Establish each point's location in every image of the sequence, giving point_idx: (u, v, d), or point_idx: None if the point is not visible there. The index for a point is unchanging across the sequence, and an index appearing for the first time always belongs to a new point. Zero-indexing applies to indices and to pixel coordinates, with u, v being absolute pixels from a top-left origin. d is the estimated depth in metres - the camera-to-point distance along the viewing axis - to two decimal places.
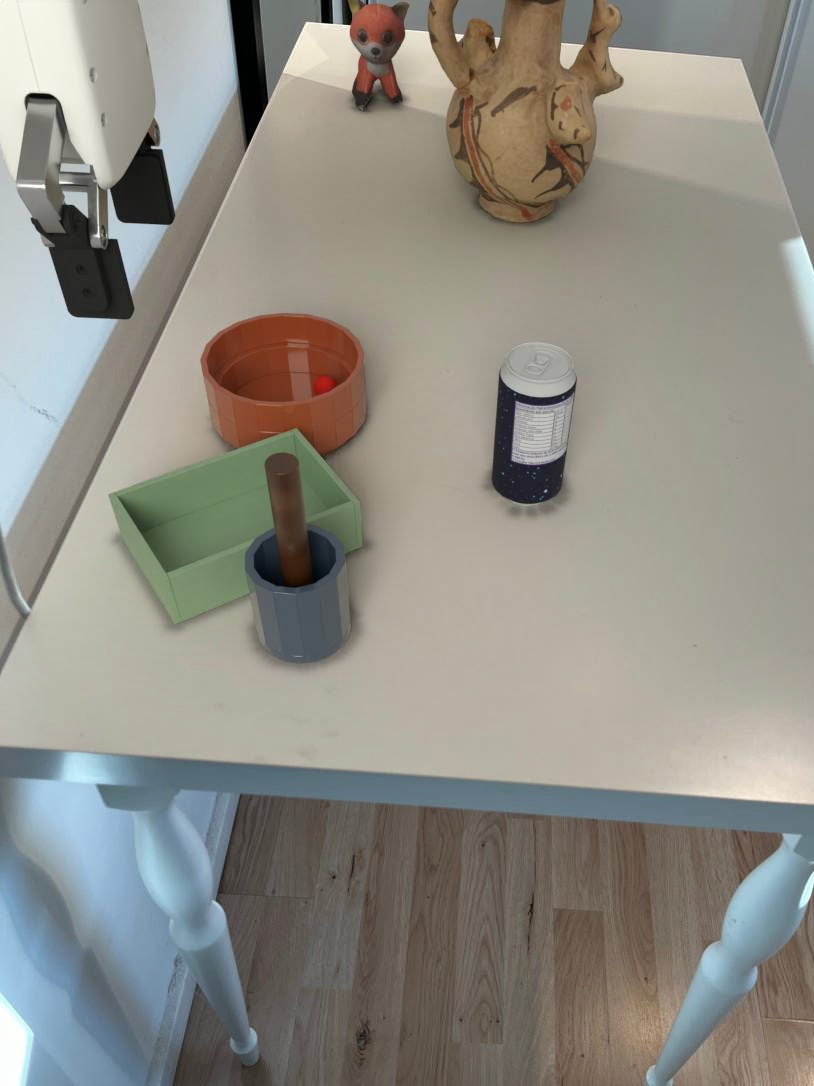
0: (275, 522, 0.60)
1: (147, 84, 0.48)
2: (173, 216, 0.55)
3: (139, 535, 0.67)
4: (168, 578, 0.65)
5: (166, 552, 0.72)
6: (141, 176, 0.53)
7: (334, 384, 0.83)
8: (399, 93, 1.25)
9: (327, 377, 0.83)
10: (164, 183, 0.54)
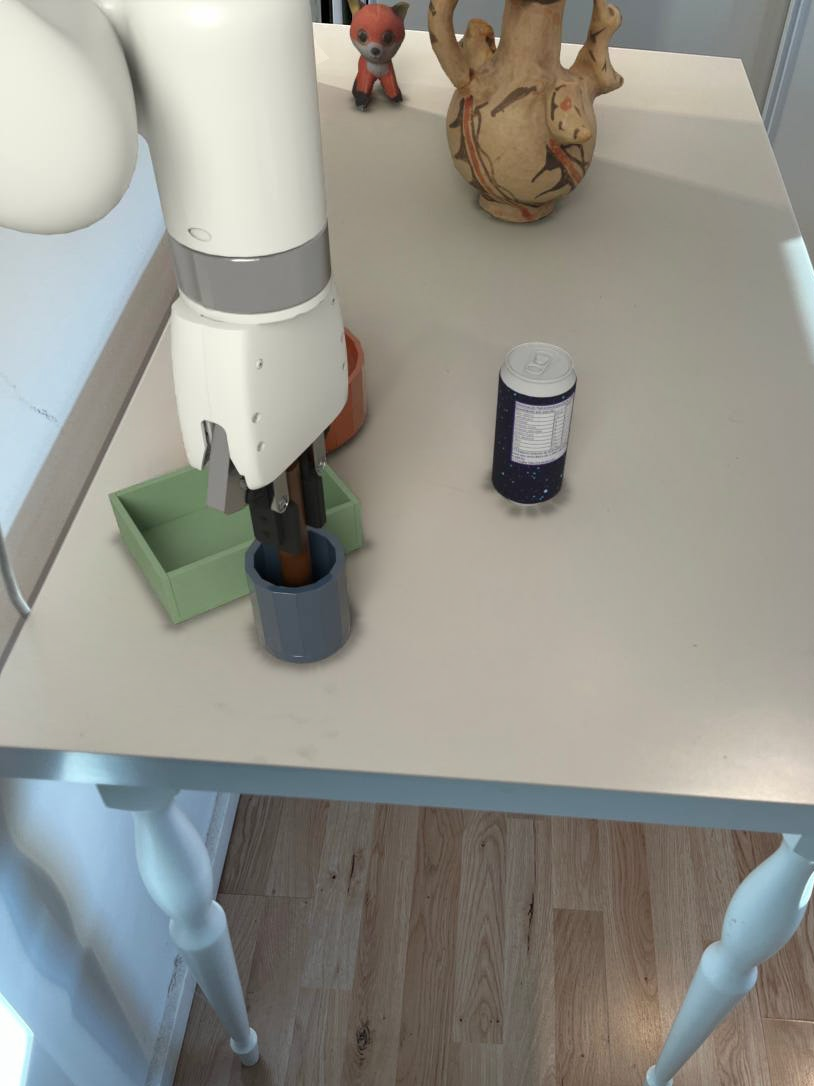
0: None
1: (334, 394, 0.55)
2: (322, 523, 0.61)
3: (139, 535, 0.67)
4: (168, 578, 0.65)
5: (166, 552, 0.72)
6: None
7: None
8: (399, 93, 1.25)
9: None
10: (318, 501, 0.60)
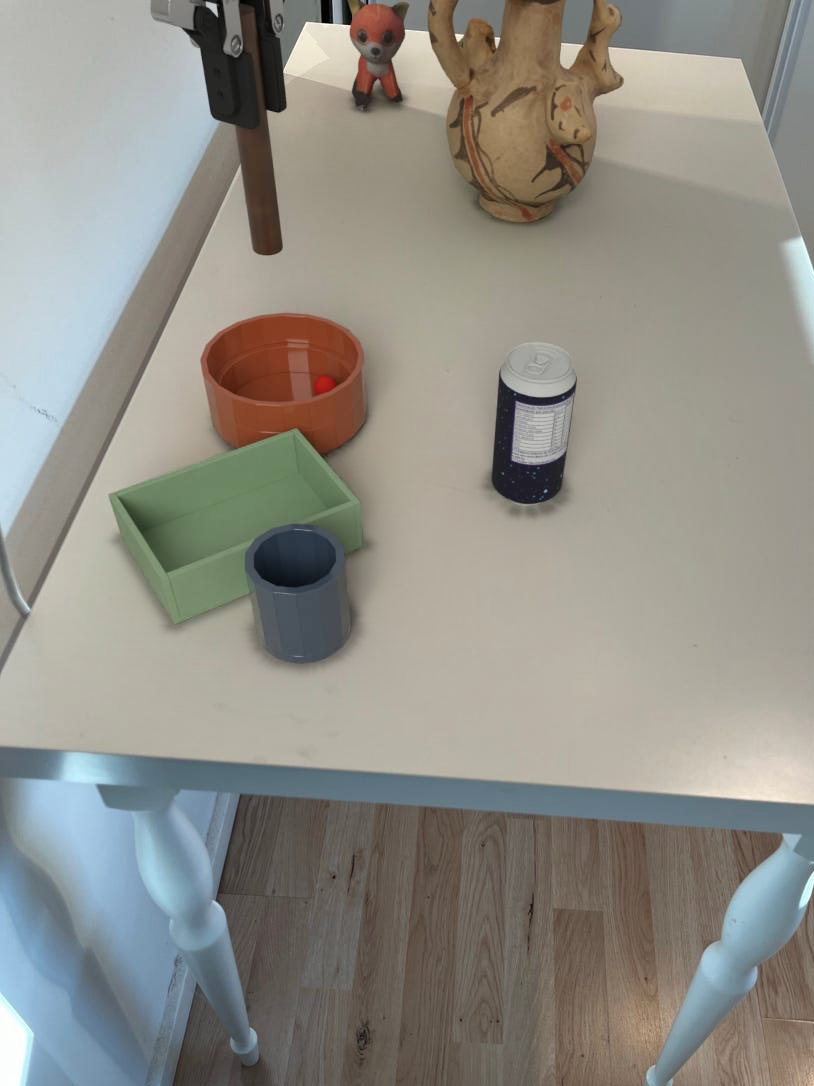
0: None
1: None
2: (282, 105, 0.58)
3: (139, 535, 0.67)
4: (168, 578, 0.65)
5: (166, 552, 0.72)
6: None
7: (334, 384, 0.83)
8: (399, 93, 1.25)
9: (327, 377, 0.83)
10: (276, 71, 0.57)
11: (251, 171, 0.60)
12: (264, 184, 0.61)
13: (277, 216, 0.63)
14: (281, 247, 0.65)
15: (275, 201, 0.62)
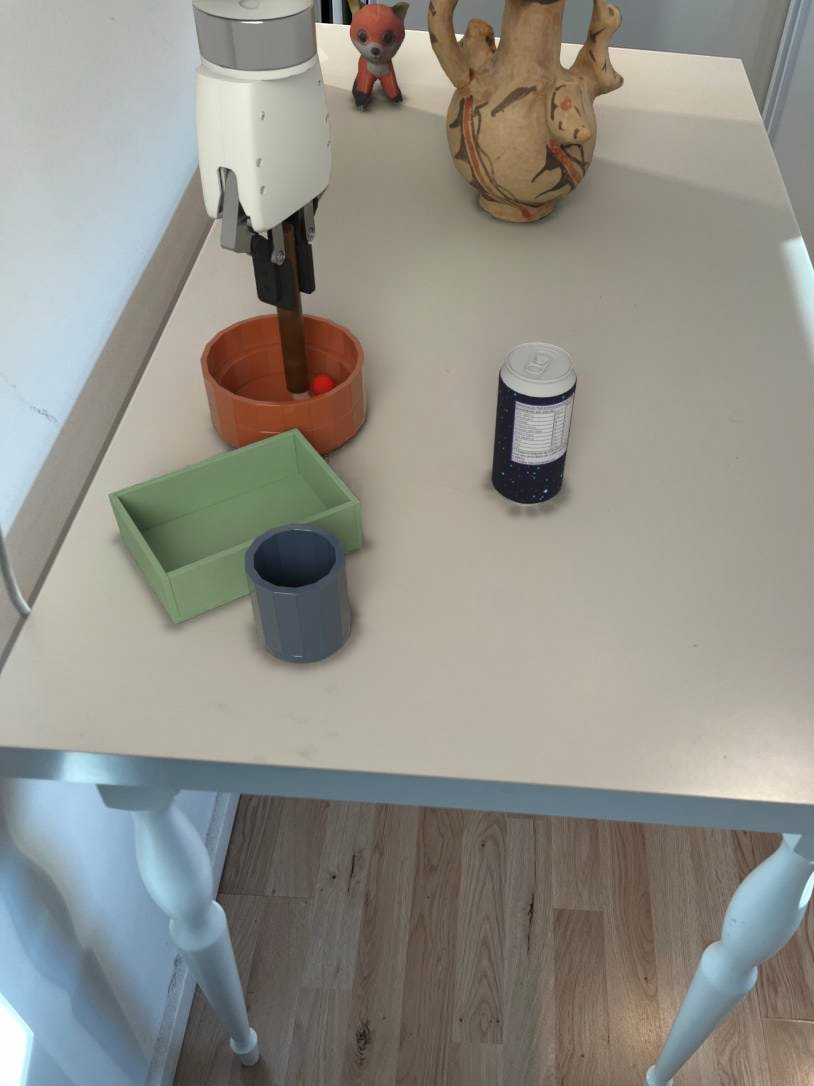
0: None
1: (321, 167, 0.70)
2: (312, 289, 0.76)
3: (139, 535, 0.67)
4: (168, 578, 0.65)
5: (166, 552, 0.72)
6: None
7: (332, 382, 0.83)
8: (399, 93, 1.25)
9: (323, 375, 0.83)
10: (308, 266, 0.75)
11: (288, 336, 0.78)
12: (297, 344, 0.79)
13: (306, 365, 0.81)
14: (309, 387, 0.82)
15: (305, 355, 0.80)
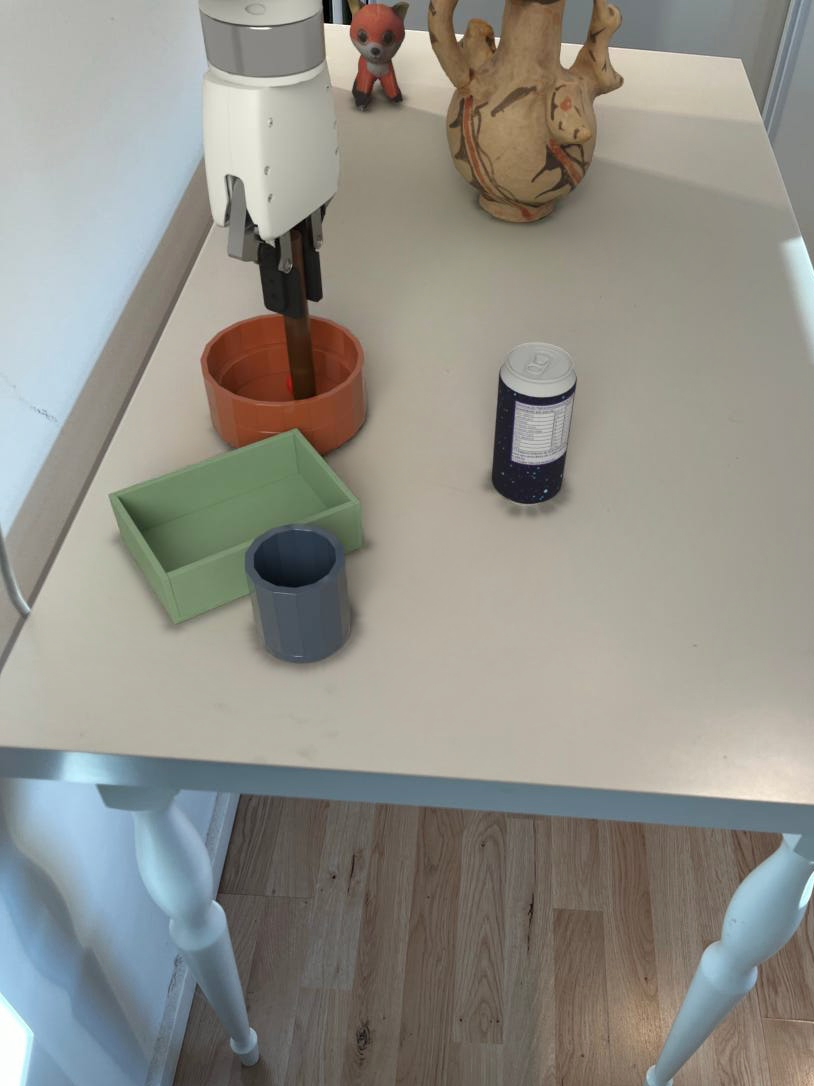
0: None
1: (329, 174, 0.69)
2: (319, 297, 0.75)
3: (139, 535, 0.67)
4: (168, 578, 0.65)
5: (166, 552, 0.72)
6: None
7: (286, 381, 0.83)
8: (399, 93, 1.25)
9: None
10: (316, 274, 0.74)
11: (294, 344, 0.77)
12: (304, 353, 0.78)
13: (313, 374, 0.80)
14: (316, 395, 0.81)
15: (312, 363, 0.79)
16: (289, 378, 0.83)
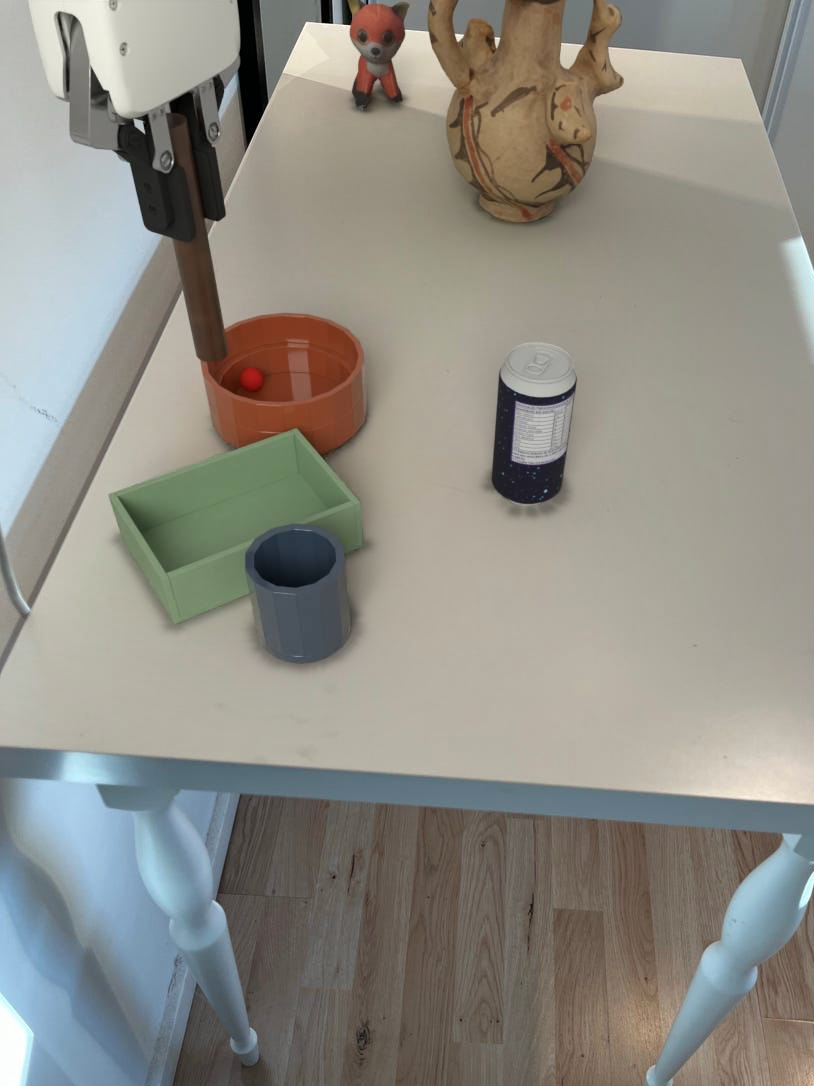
0: None
1: (221, 30, 0.49)
2: (221, 214, 0.55)
3: (139, 535, 0.67)
4: (168, 578, 0.65)
5: (166, 552, 0.72)
6: None
7: (259, 375, 0.83)
8: (399, 93, 1.25)
9: (251, 369, 0.83)
10: (213, 180, 0.54)
11: (190, 280, 0.57)
12: (205, 293, 0.57)
13: (221, 323, 0.59)
14: (226, 353, 0.61)
15: (218, 308, 0.59)
16: (261, 383, 0.84)
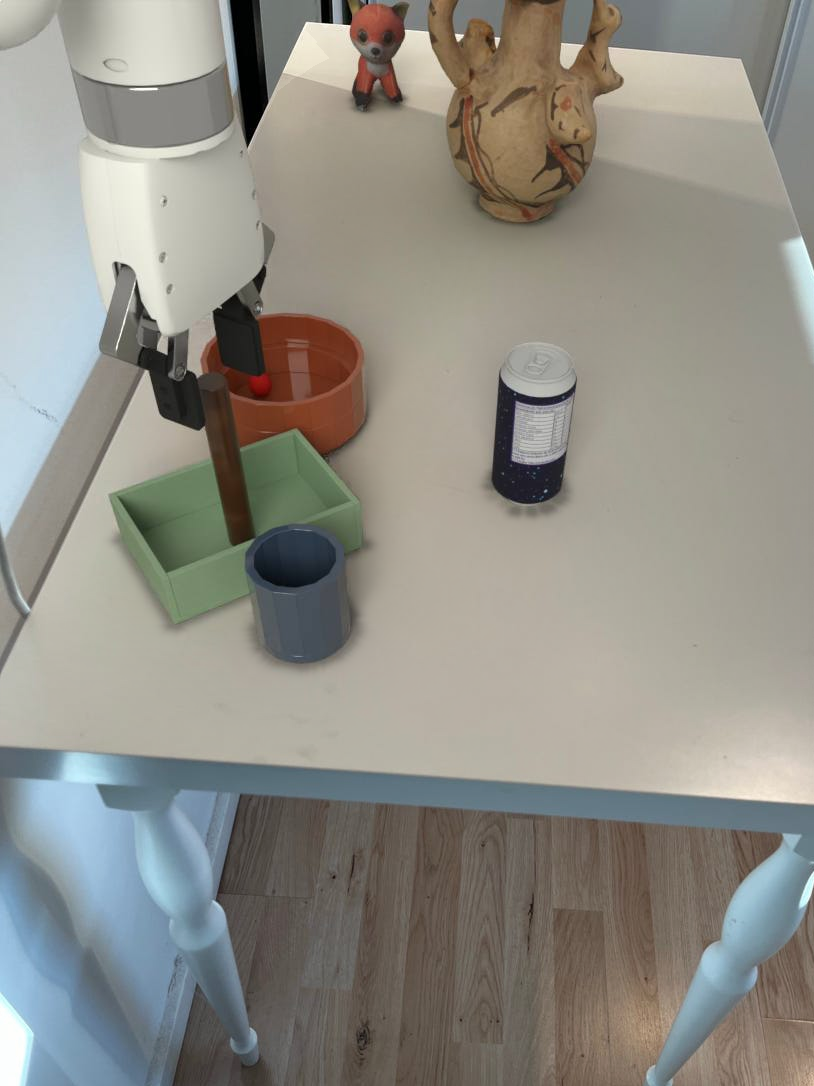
0: (208, 439, 0.65)
1: (249, 252, 0.57)
2: (261, 371, 0.64)
3: (139, 535, 0.67)
4: (168, 578, 0.65)
5: (166, 552, 0.72)
6: (238, 337, 0.63)
7: (270, 390, 0.84)
8: (399, 93, 1.25)
9: (267, 381, 0.83)
10: (255, 346, 0.63)
11: (226, 491, 0.68)
12: (238, 499, 0.69)
13: (250, 518, 0.71)
14: None
15: (248, 508, 0.70)
16: None
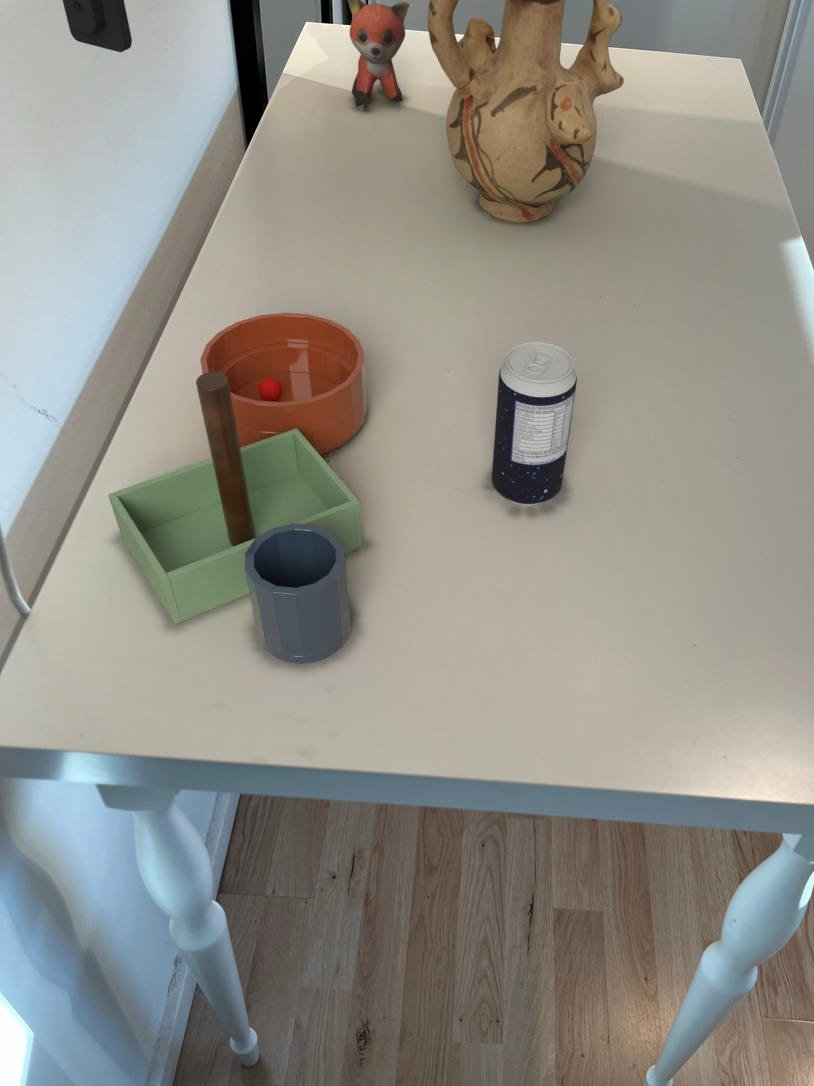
0: (209, 438, 0.65)
1: None
2: None
3: (139, 535, 0.67)
4: (168, 578, 0.65)
5: (166, 552, 0.72)
6: None
7: None
8: (399, 93, 1.25)
9: None
10: None
11: (227, 491, 0.68)
12: (238, 499, 0.69)
13: (250, 518, 0.71)
14: None
15: (248, 508, 0.70)
16: None
